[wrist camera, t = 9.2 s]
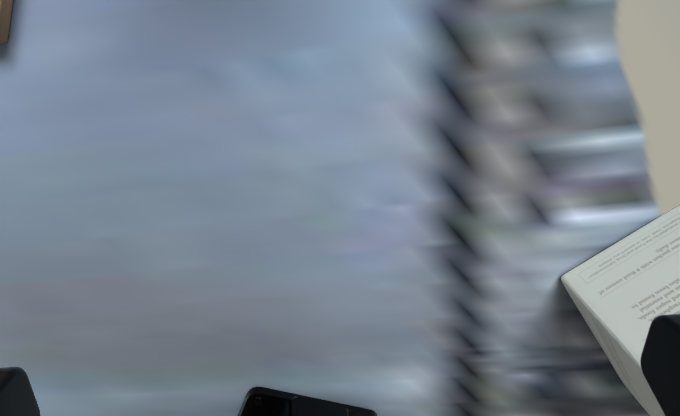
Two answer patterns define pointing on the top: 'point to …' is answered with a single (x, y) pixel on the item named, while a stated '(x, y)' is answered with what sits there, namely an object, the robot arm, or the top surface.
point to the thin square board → (5, 19)
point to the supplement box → (630, 296)
